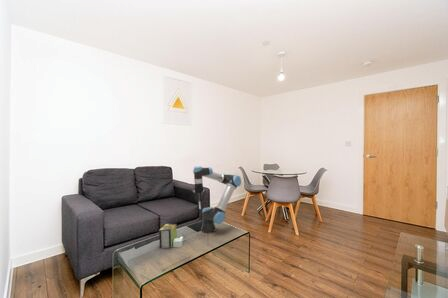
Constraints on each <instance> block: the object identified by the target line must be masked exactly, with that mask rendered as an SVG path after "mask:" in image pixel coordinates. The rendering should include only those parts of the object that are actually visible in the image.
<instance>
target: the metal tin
mask: <svg viewBox="0 0 448 298" xmlns="http://www.w3.org/2000/svg"><path fill="white" fill-rule="evenodd" d="M177 238H183V243H184V242H185V241H186V235H184V234H180V235H178V236H177Z"/></svg>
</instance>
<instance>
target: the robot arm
mask: <svg viewBox="0 0 448 298" xmlns="http://www.w3.org/2000/svg"><path fill="white" fill-rule="evenodd" d="M192 172H193V177H194V179H193V180H194V181H193V183H194V189H193V190H192V195H193V197H194V200H195V202H197V206H198V209H199V210H201V209H202V207H201V206H202V204H203V203H202V202H203V201H204V200H205V194H206V192H207V190H206V189H204V185H203V177H204V178H207V179H211V180H213V181H217V182H219V183H221V184H223V185H226V187H225V189H224V192H223V193H222V196H221V198H220V199H219V201H218V204H217V206H215V207H213V206H209V207H203V209H202V210H201V213H202V214H201V215H202V216H201V217H202V224H201V228H200V231H201V232H202V233H204V232H211V233H213V232H212V231H214V230H215V229H216V230H217V228H216V225H215V224H218V225H220V224H223V223H224V222H225V219H226V209H227V206H228V204H229V201H230V199H231V198H232V196H233V194H234V191H235V190H237V187H241V184H242V178H241V176H239V175H237V174H226V173H225V174H224V173H218V172H215V171H213V168H212V167H208V166H207V167H203V166H201V165H200V166H199V165H198V166H194V167H193V169H192ZM199 198H200V199H199ZM216 230H215V231H216ZM215 231H214V232H215Z"/></svg>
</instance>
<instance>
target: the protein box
mask: <svg viewBox="0 0 448 298" xmlns="http://www.w3.org/2000/svg"><path fill="white" fill-rule="evenodd" d="M158 231H159V232H158V234H159V249H172V248H173V241H174V239H175V238H178V236H177V235H178V234H177V223H165V224H164V225H163V226H162V227H160V229H159V230H158Z"/></svg>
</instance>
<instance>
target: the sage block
mask: <svg viewBox="0 0 448 298" xmlns="http://www.w3.org/2000/svg"><path fill="white" fill-rule="evenodd" d="M183 243H184V242H183V238H178V237H177V238H175V239H174V241H173V246H172V248H182V247H183Z"/></svg>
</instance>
